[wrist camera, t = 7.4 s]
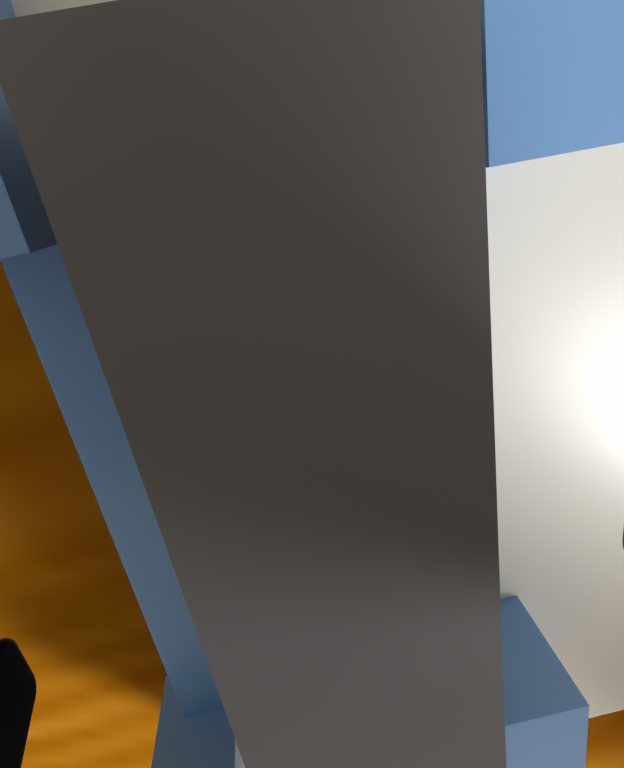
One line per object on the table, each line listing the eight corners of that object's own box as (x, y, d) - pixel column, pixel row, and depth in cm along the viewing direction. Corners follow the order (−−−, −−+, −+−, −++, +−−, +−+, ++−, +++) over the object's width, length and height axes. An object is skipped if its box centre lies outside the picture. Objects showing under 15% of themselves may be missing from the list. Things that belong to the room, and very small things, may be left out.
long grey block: (429, 660, 14) (509, 869, 9) (283, 694, 13) (301, 923, 9) (360, 62, 8) (477, -61, 4) (116, 106, 8) (-22, 23, 4)
